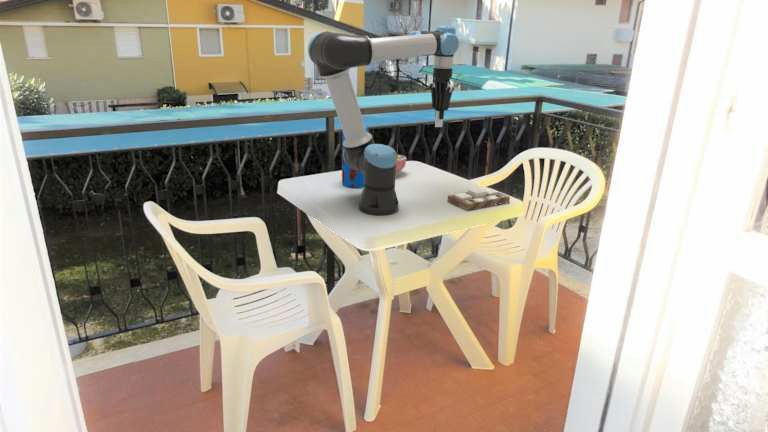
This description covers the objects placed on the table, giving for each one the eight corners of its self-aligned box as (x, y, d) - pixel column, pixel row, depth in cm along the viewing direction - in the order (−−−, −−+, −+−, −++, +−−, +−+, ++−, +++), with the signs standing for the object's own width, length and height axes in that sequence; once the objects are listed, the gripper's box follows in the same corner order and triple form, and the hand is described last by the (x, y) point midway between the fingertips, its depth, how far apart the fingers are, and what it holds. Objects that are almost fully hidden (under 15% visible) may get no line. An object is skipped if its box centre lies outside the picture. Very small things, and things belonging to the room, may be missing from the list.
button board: (466, 211, 201) (467, 204, 200) (447, 201, 210) (447, 194, 209) (509, 202, 212) (510, 196, 211) (488, 194, 221) (489, 187, 220)
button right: (488, 199, 212) (489, 193, 211) (480, 195, 216) (481, 189, 215) (498, 197, 215) (498, 191, 214) (489, 193, 219) (490, 188, 218)
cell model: (410, 178, 238) (412, 154, 234) (368, 180, 233) (368, 155, 229) (399, 168, 253) (400, 145, 249) (358, 170, 248) (359, 146, 244)
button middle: (475, 199, 208) (476, 193, 208) (467, 195, 212) (468, 189, 212) (485, 197, 211) (486, 191, 210) (477, 193, 215) (477, 187, 214)
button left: (461, 204, 205) (462, 198, 204) (453, 200, 209) (454, 194, 208) (471, 202, 208) (472, 196, 207) (463, 198, 212) (464, 192, 211)
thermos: (364, 189, 221) (366, 130, 212) (339, 187, 222) (339, 128, 213) (369, 182, 231) (370, 125, 222) (345, 179, 232) (346, 123, 223)
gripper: (461, 68, 206) (455, 129, 214) (440, 65, 216) (436, 123, 225) (445, 69, 202) (441, 130, 210) (425, 65, 212) (422, 124, 221)
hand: (438, 126), depth 217 cm, fingers closed
